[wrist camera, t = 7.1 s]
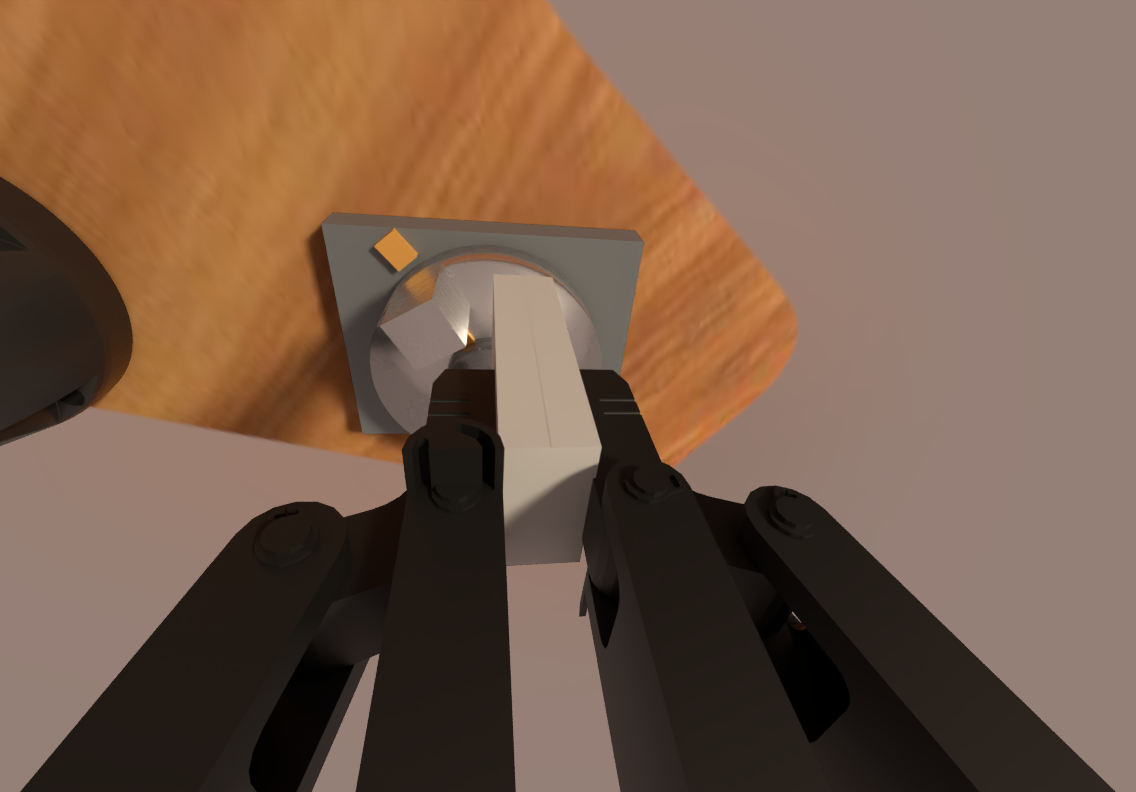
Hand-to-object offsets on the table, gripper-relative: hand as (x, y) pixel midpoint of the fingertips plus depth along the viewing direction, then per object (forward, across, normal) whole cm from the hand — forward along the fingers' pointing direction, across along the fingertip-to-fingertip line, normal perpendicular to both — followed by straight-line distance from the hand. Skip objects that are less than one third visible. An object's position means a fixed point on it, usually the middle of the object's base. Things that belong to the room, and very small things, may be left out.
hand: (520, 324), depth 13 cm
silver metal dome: (+13, +1, +8) cm, 15 cm away
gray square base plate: (+15, 0, +8) cm, 17 cm away
